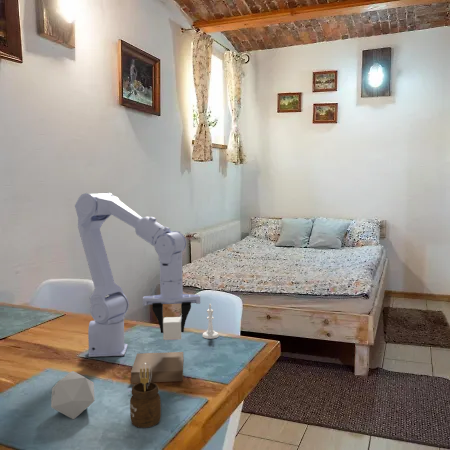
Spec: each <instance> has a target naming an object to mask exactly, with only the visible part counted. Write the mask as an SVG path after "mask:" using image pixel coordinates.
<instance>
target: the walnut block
mask: <svg viewBox="0 0 450 450" xmlns="http://www.w3.org/2000/svg"><path fill="white" fill-rule="evenodd" d="M184 361H185V359H184V351H175V352H174V351H171V352H169V351H168V352H146V353H136V356H135V357H134V362H133V365H132V368H131V371H130V378H131V379H130V383H131V384H137V383H140V369H141V368H142V378H144V374H143V369H144V368H145V363H146V375H145V378H147V368H148V375H149V377H150V380H151V381H150V380H149V382H154V383H160V382H161V383H162V382H163V383H164V382H165V383H167V382H168V383H169V382H183V381H184V380H183V379H184ZM148 363H149V364H148ZM142 364H143V366H142ZM150 365H151V366H150ZM140 366H141V367H140ZM149 366H150V367H149ZM149 368H150V369H149ZM151 369H152V376H151Z"/></svg>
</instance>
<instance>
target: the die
mask: <svg viewBox="0 0 450 450" xmlns="http://www.w3.org/2000/svg"><path fill="white" fill-rule="evenodd" d="M50 401H51V406H50V408H52V409H53V410H55V411H57V412H58V413H61V414H62V415H65V416H66V417H67V418H70V419H71V420H74V421H75V419H76V418H77V417H78V416H80V414H82V413H83V412H84V411H85V410H86V409H88V408H89V407H90V406H91V405H92V404H93V403H94V402H95V383H94V382H93V381H92V380H90V379H88V378H87V377H86V376H83V375H81V374H79V373H78V372H76V371H74V370H72V371H70V372H69V373H67V374H66V375H64V377H62V378H61V379H59V380H58V381H57V382H56V384H55V385H54V386H53V387H52V388H51V400H50Z"/></svg>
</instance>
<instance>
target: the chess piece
mask: <svg viewBox="0 0 450 450" xmlns="http://www.w3.org/2000/svg"><path fill="white" fill-rule="evenodd" d="M206 313H207V317H206V319H207V320H208V323H207V325H208V326H207V330H206V331H204V332H203V333H202V338H204V339H209V340H210V339H212V340H213V339H217V338H219V335H220V334H219V332H217V331H215V330H214V326H213V320H214V319H215V318H214V316H213V315H214V309H212V304H211V303H208V309H207V310H206Z"/></svg>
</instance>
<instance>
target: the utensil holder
mask: <svg viewBox="0 0 450 450" xmlns="http://www.w3.org/2000/svg"><path fill="white" fill-rule="evenodd" d="M148 364H149V363H148ZM142 366H143V364H142ZM150 366H151V365H150ZM150 366H149V367H150ZM140 367H141V366H140ZM149 369H150V368H149ZM143 374H144V378H142V368H141V369H140V383H134V385H132V387H131V392H130V393H131V396H130V400H129V401H130V402H129V414H130V423H131V425H132V426H134V427H135V428H138V429H146V428H147V429H148V428H152V427H154V426H157V425H158V424H159V422H161V417H162V405H161V402H162V401H161V395H160V392H159V390H160V389H159V386H158V383H157V382H149V380H150V377H149V375H148V368H147V378H145V375H146V363H145V368H144V369H143ZM151 376H152V369H151ZM150 381H151V380H150Z"/></svg>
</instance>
